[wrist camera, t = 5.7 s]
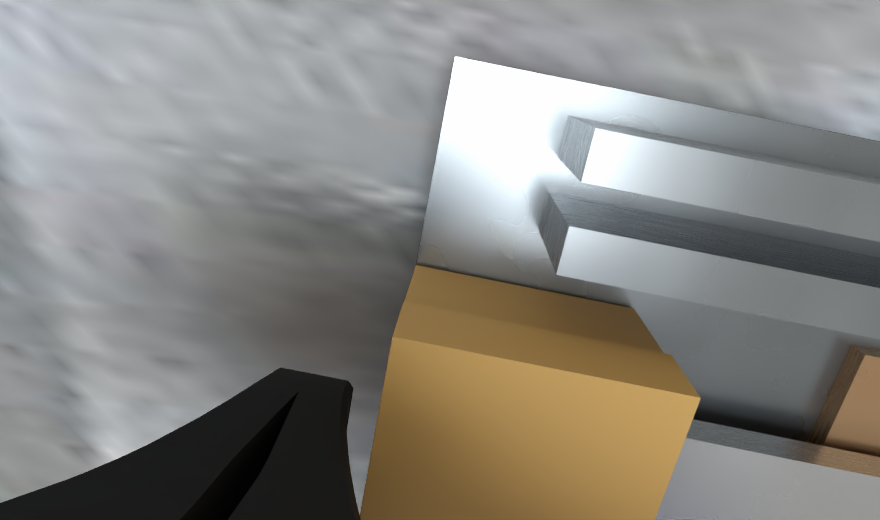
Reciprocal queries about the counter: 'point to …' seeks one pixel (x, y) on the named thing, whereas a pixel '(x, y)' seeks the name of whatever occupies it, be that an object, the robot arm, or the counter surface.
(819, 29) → the counter surface
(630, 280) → the grey fixture base plate
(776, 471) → the strap
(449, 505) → the clip
